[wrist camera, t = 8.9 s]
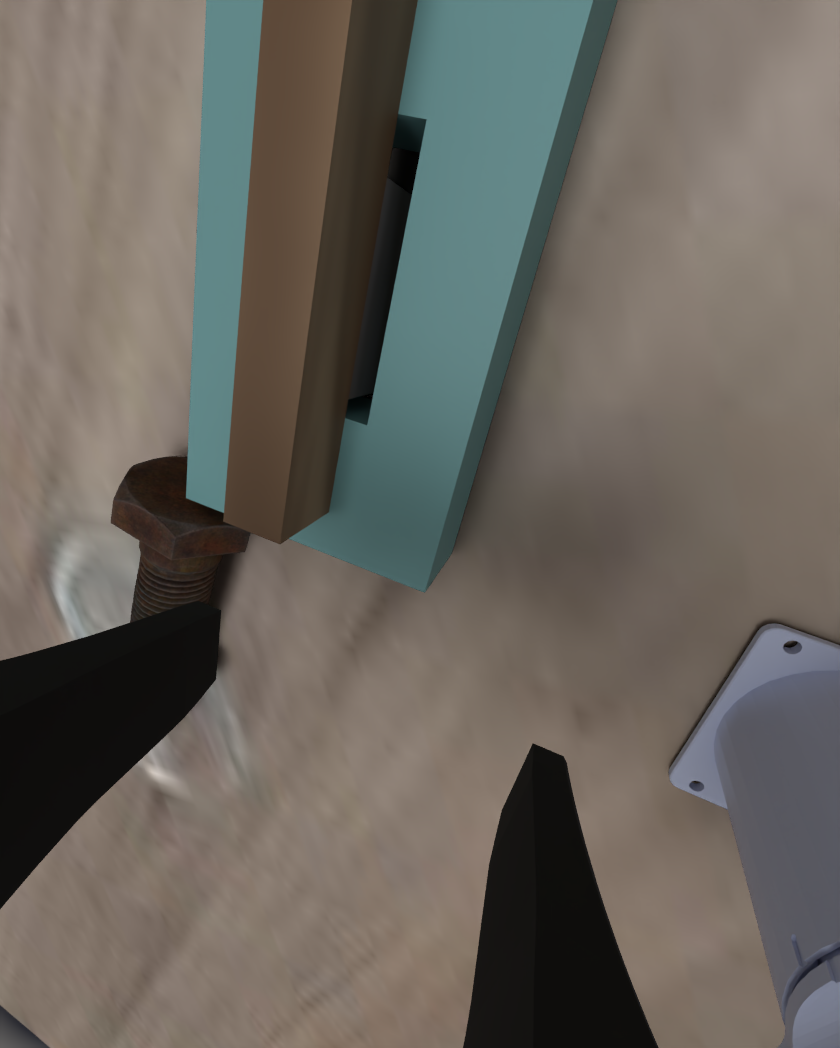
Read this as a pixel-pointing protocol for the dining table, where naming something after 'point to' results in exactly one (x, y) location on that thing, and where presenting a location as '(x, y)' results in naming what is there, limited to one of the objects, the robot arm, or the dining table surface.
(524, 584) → the dining table surface
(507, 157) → the post block
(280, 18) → the long brown beam
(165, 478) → the bolt
